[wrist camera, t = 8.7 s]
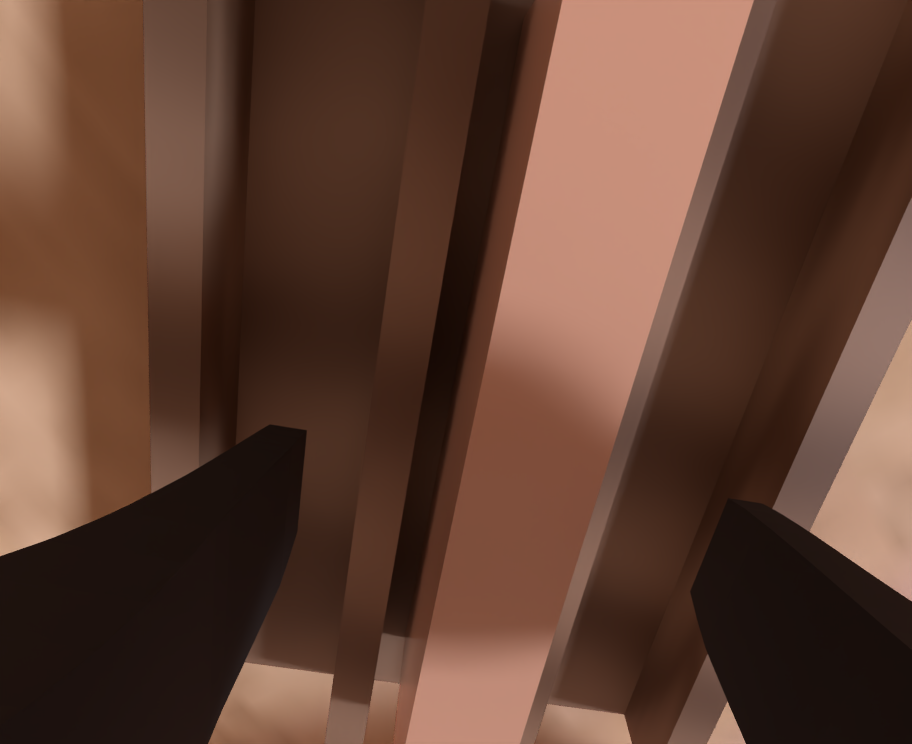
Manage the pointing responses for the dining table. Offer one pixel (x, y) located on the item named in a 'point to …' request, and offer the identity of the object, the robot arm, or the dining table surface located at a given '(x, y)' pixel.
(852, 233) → the slatted brown panel
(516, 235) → the clay strip
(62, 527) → the dining table surface
